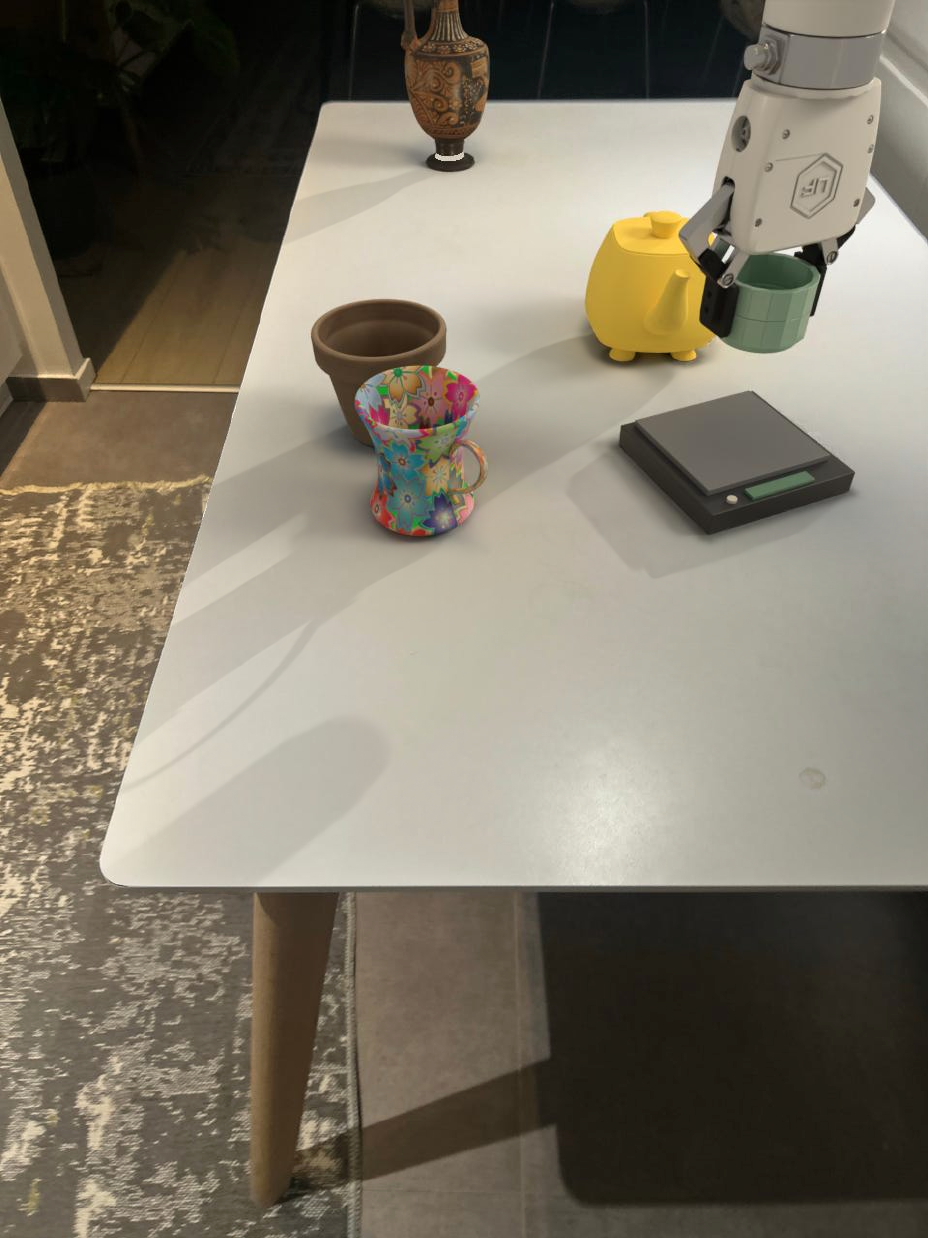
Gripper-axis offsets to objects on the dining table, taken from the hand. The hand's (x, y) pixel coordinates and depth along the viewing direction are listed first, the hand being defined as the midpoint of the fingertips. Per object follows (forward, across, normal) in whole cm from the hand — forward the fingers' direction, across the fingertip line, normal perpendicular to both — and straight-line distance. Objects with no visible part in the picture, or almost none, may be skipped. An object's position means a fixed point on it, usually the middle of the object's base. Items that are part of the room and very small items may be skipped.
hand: (756, 317), depth 71 cm
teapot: (+14, +5, +20) cm, 25 cm away
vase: (+14, +7, +79) cm, 81 cm away
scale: (+13, 0, -1) cm, 13 cm away
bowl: (+1, 0, 0) cm, 1 cm away
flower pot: (+14, -25, +17) cm, 33 cm away
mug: (+13, -26, +3) cm, 29 cm away
